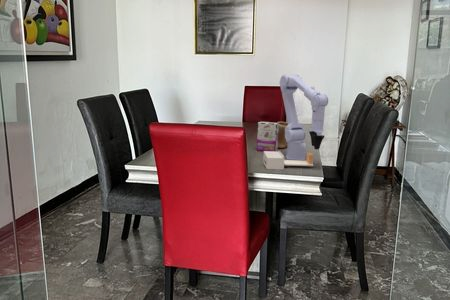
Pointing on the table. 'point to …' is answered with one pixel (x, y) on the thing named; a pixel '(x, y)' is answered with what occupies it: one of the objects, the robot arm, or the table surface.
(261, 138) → the candy bar box
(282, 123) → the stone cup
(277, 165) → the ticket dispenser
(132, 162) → the table surface
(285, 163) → the cream slab with block
